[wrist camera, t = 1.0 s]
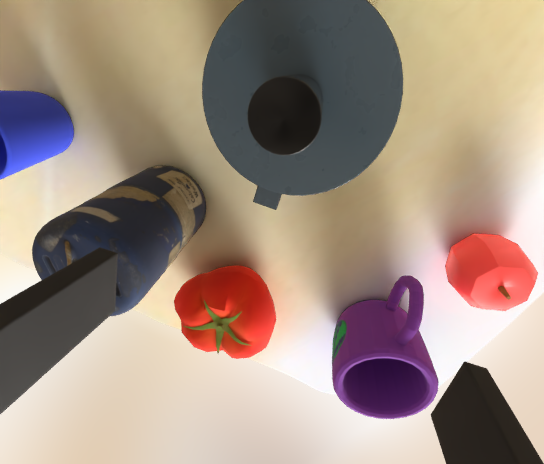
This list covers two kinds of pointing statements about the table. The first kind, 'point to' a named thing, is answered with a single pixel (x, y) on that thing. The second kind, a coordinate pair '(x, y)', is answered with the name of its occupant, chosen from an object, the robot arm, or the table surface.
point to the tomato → (227, 311)
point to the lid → (302, 91)
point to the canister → (127, 230)
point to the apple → (490, 272)
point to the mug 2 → (384, 356)
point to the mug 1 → (31, 130)
